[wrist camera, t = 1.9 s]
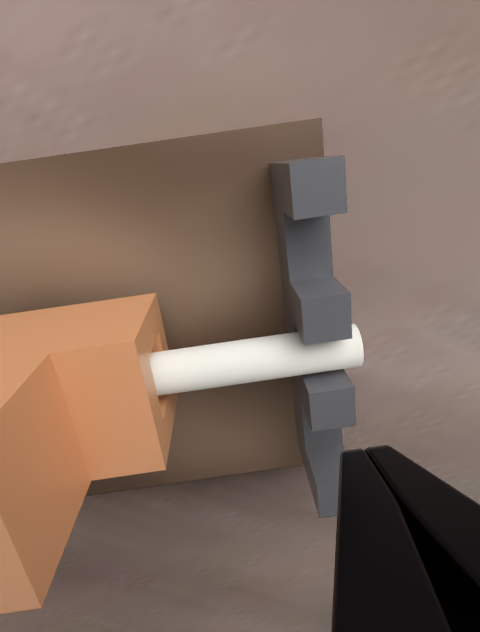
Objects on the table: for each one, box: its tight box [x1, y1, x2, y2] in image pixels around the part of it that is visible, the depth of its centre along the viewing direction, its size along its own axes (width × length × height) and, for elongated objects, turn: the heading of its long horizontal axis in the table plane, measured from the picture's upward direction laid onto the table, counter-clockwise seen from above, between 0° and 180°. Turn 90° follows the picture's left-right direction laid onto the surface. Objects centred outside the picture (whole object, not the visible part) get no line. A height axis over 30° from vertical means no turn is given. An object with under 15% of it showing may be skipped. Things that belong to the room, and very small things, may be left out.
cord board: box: [0, 118, 324, 496], centre depth 15 cm, size 12×23×2 cm, turn 98°
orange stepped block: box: [0, 293, 178, 614], centre depth 10 cm, size 4×5×7 cm
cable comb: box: [270, 156, 356, 518], centre depth 12 cm, size 10×1×4 cm, turn 8°
